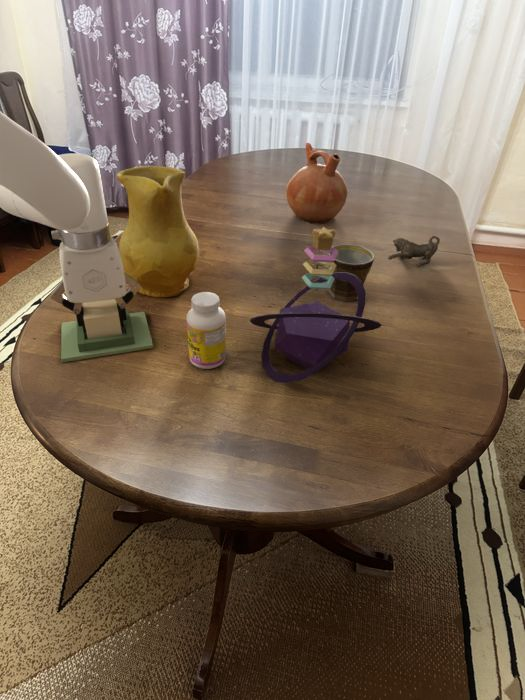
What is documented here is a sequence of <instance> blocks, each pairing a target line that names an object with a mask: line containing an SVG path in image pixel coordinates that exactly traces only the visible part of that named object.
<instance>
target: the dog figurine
mask: <svg viewBox="0 0 525 700" xmlns="http://www.w3.org/2000/svg"><path fill="white" fill-rule="evenodd" d="M433 239H436V241H435V242H434V241H433ZM440 242H441V239H440V237H438V236H436V235H432V236H430V237H429V238H428V242H425V243H417V242H414V241H411V240H409V239H406V238H404V237H400V236H398V237H396V238H394V239H393V240H392V243H393V246H394V247H395V250H396V252H397V253H395V254H394V253H393V254H391V255H388V256H387V260H391V261H392V259H396V258H399V259H400V260H401V259H402V260H412V259H413V258H421V259H422V261H420V262H416V264H415V266H416V267H417V268H420V267H423V266H425V265H429V264H430V263H431V260H432V258H433V256H434V255H435V254H436V252H437V251H438V248H439V244H440Z"/></svg>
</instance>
